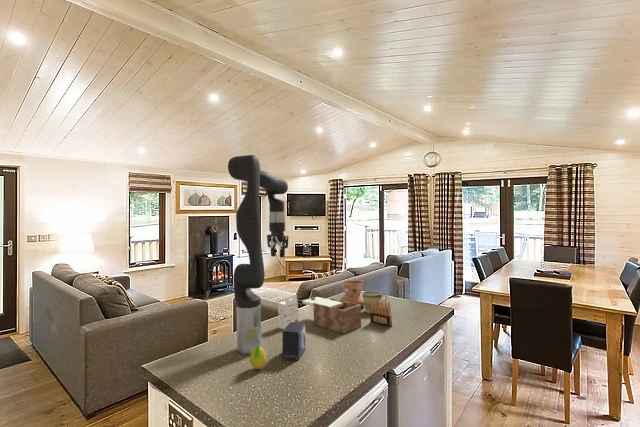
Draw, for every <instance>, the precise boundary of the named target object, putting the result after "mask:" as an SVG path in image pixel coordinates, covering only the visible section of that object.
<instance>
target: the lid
mask: <svg viewBox="0 0 640 427" xmlns="http://www.w3.org/2000/svg"><path fill="white" fill-rule="evenodd" d="M301 303H302V304H303V305H307V306H311V307H314V304H313V303H317V304H321V305H325V306H329V307H333V308H337V307H341V306H343V303H342V302H338V301H333V300H330V298H325V297H320V296H315V297H314V296H312V297H311V298H307V299H303V300H302V301H301Z"/></svg>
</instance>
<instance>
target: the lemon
mask: <svg viewBox="0 0 640 427" xmlns="http://www.w3.org/2000/svg"><path fill="white" fill-rule="evenodd" d="M258 343H259V344H260V340H259V341H258ZM260 345H261V347H259V345H257V347H256V348H254V349H253V350H252V352H251V354H250V356H249V363H250V365H251V367H253V368H255V369H256V370H260V369H261V368H263V367H264V366H265V365H266V364H267V353H266V351H265V349H264V348H263V347H262V343H261V344H260Z"/></svg>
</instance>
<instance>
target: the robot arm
mask: <svg viewBox="0 0 640 427" xmlns="http://www.w3.org/2000/svg"><path fill="white" fill-rule="evenodd" d="M227 170H228V173H229V175H230V177H231V178H232V179H234V180H236V181H237V180H238V181H243V182H246V192H245V195H244V197H243V199H242V200H241V202H240V204H239V206H238V208H237V211H236V213H235V222H236V233H237V235H238V237H239V239H240V241H241V242H242V244H243V246H244V247H245V248H246V251H247V254H248V258H249V259H248V260H249V263H239V264H238V265H237V266H236V267H235V268H234V272H233V292H234V293H233V295H234V300H235V302H236V341H237V342H236V344H237V345H236V346H237V348H236V349H237V352H238V354H241V355H249V354H250V355H251V352H252V350H253V349H254V348H256V347H257V345H259V347H261V348H262V317H261V316H262V315H261V314H262V312H261V311H262V307H261V305H262V303H261V302H262V301H261V297H260V296H259V295H257V294H256V293H254V292H253V291H252V290H251V289H260V288H261V287H262V286H263V285H264V282H265V265H264V258H263V250H262V234H261V232H262V227H261V226H262V223H261V220H262V219H261V211H260V209H261V208H260V207H261V205H260V189H261V188H262V189H264V190H265V192H266V196H267V199H268V204H269V208H268V210H269V215H268V220H269V221H268V227H269V228H268V230H269V232H271V233H270V234H266V241H267V242H266V243H267V247H268V248H269V249H270V255H271V257H276V255H277V253H276V252H277V251H276V250H277V249H276V247H277V246H279V257H280V258H285V256H286V253H285V250H286V249H287V248H288V247H289V235H286V234H285V232H286V215H285V214H286V213H285V201H284V200H283V199H279V198H277V197H276V196H275V195H284V194H286V193H287V192H288V189H289V185H288V183H287V181H286V180H285V179H283V178H281V177H277V176H273V175H272V174H270V173H268V172H267V171H264V170H261V164H260V161H259V158H258V157H257V155H253V154H247V155H238V156H237V155H236V156H233V157H231V158H230V159H229V161H228V164H227ZM259 340H260V344H261V345H260V344H259V343H258V341H259Z"/></svg>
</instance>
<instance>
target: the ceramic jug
mask: <svg viewBox="0 0 640 427" xmlns="http://www.w3.org/2000/svg"><path fill="white" fill-rule="evenodd" d="M341 286H342V289H343V292H344V293H345V294H344V295H343V296H341V297H340V298H339V300H341V301H345V302H350V303H354V304H359V305H361V308H363V307H365V304H364V299H363V295H361V293H362V290H363V287H364V281H363V280H359V279H345V280H342V281H341Z"/></svg>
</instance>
